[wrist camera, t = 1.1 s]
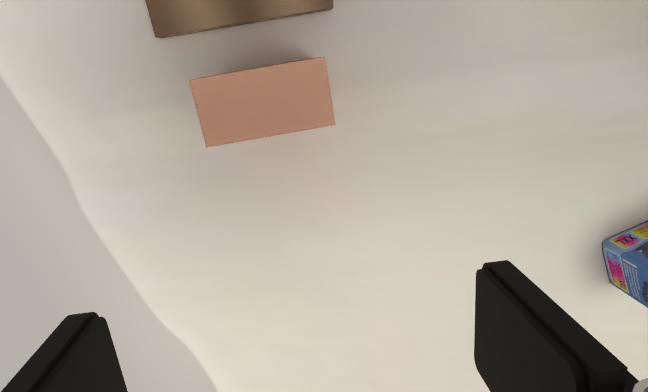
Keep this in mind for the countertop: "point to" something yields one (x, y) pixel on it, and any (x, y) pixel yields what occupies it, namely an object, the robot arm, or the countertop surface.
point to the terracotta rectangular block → (263, 101)
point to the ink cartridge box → (629, 262)
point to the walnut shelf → (222, 13)
